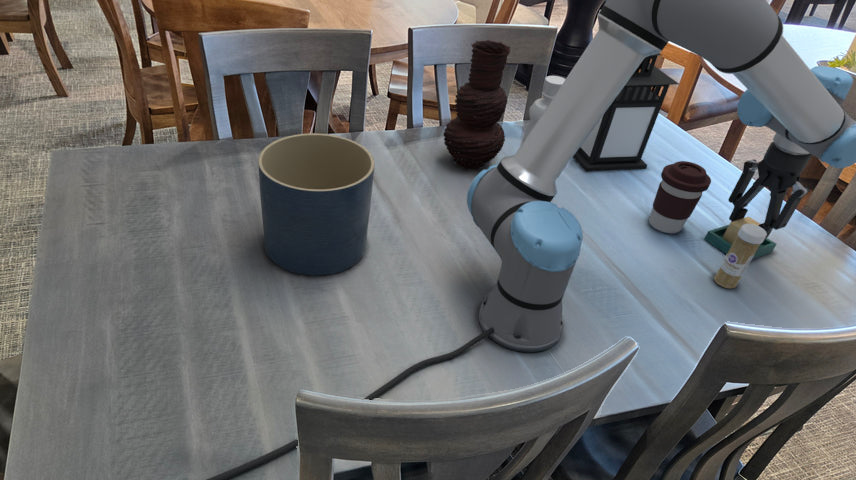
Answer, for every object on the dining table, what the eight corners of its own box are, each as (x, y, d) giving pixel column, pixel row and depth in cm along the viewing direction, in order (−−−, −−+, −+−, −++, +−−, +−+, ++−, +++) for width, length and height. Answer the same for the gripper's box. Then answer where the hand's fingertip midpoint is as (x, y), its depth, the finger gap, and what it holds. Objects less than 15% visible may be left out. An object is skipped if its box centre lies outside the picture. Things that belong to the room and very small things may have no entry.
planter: (378, 226, 139) (386, 144, 127) (351, 288, 123) (356, 200, 110) (284, 207, 143) (282, 125, 130) (245, 264, 127) (239, 177, 114)
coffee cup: (691, 240, 142) (719, 183, 132) (645, 233, 143) (670, 176, 133) (682, 216, 149) (708, 160, 140) (639, 210, 150) (662, 154, 141)
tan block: (740, 251, 138) (749, 234, 135) (721, 238, 141) (730, 222, 138) (758, 244, 140) (768, 228, 137) (739, 232, 143) (748, 216, 140)
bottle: (509, 211, 147) (540, 88, 128) (501, 190, 154) (529, 70, 135) (547, 212, 148) (584, 89, 128) (538, 191, 154) (571, 72, 135)
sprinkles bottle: (709, 280, 131) (737, 227, 122) (719, 272, 133) (748, 220, 125) (730, 292, 128) (761, 239, 120) (740, 284, 130) (771, 231, 122)
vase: (430, 151, 168) (446, 37, 148) (482, 145, 172) (504, 33, 152) (454, 180, 156) (475, 61, 137) (509, 173, 160) (537, 57, 141)
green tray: (740, 263, 136) (744, 255, 135) (704, 239, 142) (708, 230, 141) (772, 252, 140) (777, 244, 138) (735, 229, 146) (739, 220, 145)
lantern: (585, 171, 163) (630, 34, 141) (557, 140, 176) (595, 10, 154) (645, 168, 166) (699, 34, 144) (614, 138, 179) (658, 10, 157)
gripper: (847, 165, 121) (787, 260, 136) (764, 124, 133) (718, 216, 148) (822, 172, 118) (764, 268, 133) (741, 130, 130) (696, 223, 145)
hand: (740, 241), depth 140 cm, fingers closed on tan block, 5 cm apart
